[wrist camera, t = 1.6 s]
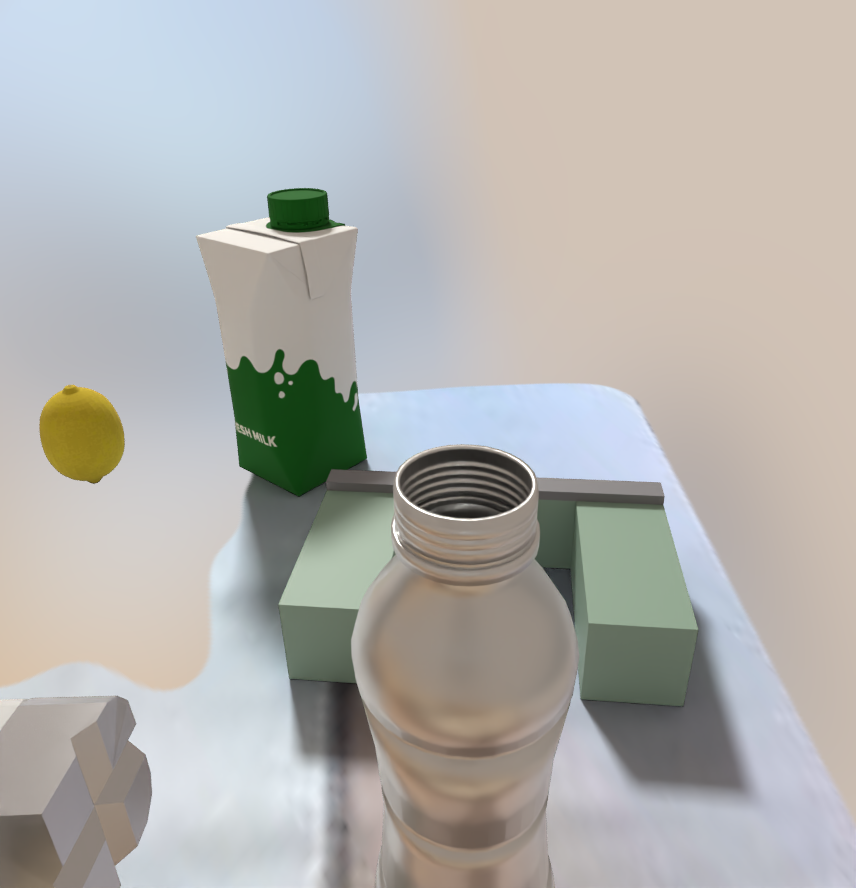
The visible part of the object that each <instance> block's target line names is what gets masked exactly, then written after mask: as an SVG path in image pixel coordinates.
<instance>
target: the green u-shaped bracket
mask: <svg viewBox="0 0 856 888" xmlns="http://www.w3.org/2000/svg"><path fill="white" fill-rule="evenodd" d="M395 475H396V472H385V471H360V470H335V469H331V471H330V474H329V476H328V478H327V481H326V488H327V491H326V493H325V496H324V498H323V500H322V503H321V505H320V507H319V510H318V512H317V515H316V517H315V519H314V522H313V524H312V526H311V529H310V531H309V533H308V536H307V538H306V540H305V543H304V545H303V548H302V550H301V552H300V555H299V557H298V559H297V562H296V564H295V566H294V569H293V571H292V573H291V576H290V578H289V581H288V583H287V585H286V588H285V590H284V592H283V595H282V597H281V599H280V602H279V604H278V606H279V612H280V619H281V626H282V633H283V639H284V646H285V653H286V660H287V666H288V673H289V679H301V680H316V681H330V682H344V683H357V682H356V678H355V672H354V666H353V661H352V654H351V638H352V634H353V630H354V626H355V622H356V618H357V615H358V611H359V607H360V604H361V601H362V599H363V597H364V595H365V593H366V591H367V589H368V588H369V586H370V585H371V584H372V582H373V581H374V580H375V578H376V577H377V576H378V574H379V573H380V572H381V570H382V569H383V568H384V567H385V565H386V564H387V563H388V562H389V561H390V560H391V559H392V558H393V557H394V556H395V555H396V554H395V552H394V549H393V547H392V539H391V523H392V518H393V516H394V496H393V485H394V479H395ZM537 484H538V491H539V498H538V511H537V520H538V522H539V526H540V540H539V549H538V552H537V556H536V557H535V560H536V561H537V562H538V563H539V565H540V566H541V567H546V568H565V569H570V572H571V584H572V597H573V610H574V622H575V632H576V635H577V639H578V647H579V655H580V656H579V663H578V672H579V685H580V697H581V699H584V700H599V701H613V702H627V703H641V704H655V705H669V706H683V705H684V700H685V695H686V690H687V685H688V680H689V675H690V670H691V665H692V660H693V655H694V650H695V645H696V639H697V634H698V627H697V623H696V619H695V616H694V612H693V609H692V605H691V602H690V598H689V595H688V591H687V588H686V584H685V580H684V577H683V573H682V570H681V566H680V563H679V559H678V556H677V552H676V549H675V545H674V541H673V538H672V534H671V531H670V527H669V524H668V520H667V517H666V513H665V509H664V506H663V503H664V493H663V489H662V486H661V483H659V482H634V481H609V480H584V479H559V478H537Z"/></svg>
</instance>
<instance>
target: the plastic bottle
mask: <svg viewBox="0 0 856 888" xmlns="http://www.w3.org/2000/svg"><path fill="white" fill-rule="evenodd" d="M393 496H394V516H393V518H392V523H391V539H392V547H393V549H394V552H395V554H396V555H395V556H394V557H393V558H392V559H391V560H390V561H389V562H388V563H387V564H386V565H385V567H384V568H383V569H382V570H381V572H380V573H379V574H378V576H377V577H376V578H375V580H374V581H373V582H372V584H371V585H370V586H369V588H368V589H367V591H366V593H365V595H364V597H363V599H362V601H361V604H360V607H359V611H358V615H357V618H356V622H355V626H354V630H353V634H352V638H351V654H352V661H353V666H354V672H355V678H356V682H357V685H358V688H359V692H360V695H361V698H362V702H363V705H364V709H365V712H366V716H367V719H368V723H369V726H370V730H371V733H372V737H373V740H374V744H375V748H376V755H377V761H378V768H379V775H380V780H381V784H382V794H383V801H384V807H383V832H382V846H381V850H380V854H379V858H378V864H377V871H376V879H375V888H555V883H554V875H553V871H552V867H551V863H550V859H549V855H548V843H547V822H546V807H547V800H548V794H549V786H550V780H551V774H552V767H553V760H554V757H555V753H556V750H557V746H558V743H559V740H560V736H561V733H562V729H563V726H564V723H565V719H566V716H567V712H568V709H569V706H570V701H571V698H572V696H573V691H574V685H575V680H576V675H577V669H578V663H579V656H580V655H579V647H578V639H577V635H576V632H575V628H574V624H573V621H572V617H571V614H570V611H569V609H568V606H567V604H566V601H565V600H564V598H563V597H562V595H561V594H560V592H559V591H558V589H557V588H556V587H555V585H554V584H553V582H552V581H551V579H550V578H549V576H548V575H547V574H546V572H545V571H544V569H543V568H542V567H541V566H540V565H539V563H538V562H537V561H536V560H535V557H536V556H537V552H538V549H539V540H540V526H539V522H538V520H537V511H538V498H539V491H538V484H537V478H536V476H535V473H534V472H533V470H532V469H531V468H530V467H529V466H528V465H527V464H526V463H525V462H523V461H522V460H521V459H519V458H517V457H516V456H514V455H512V454H510V453H507V452H504V451H502V450H499V449H495V448H491V447H486V446H479V445H463V444H461V445H447V446H441V447H436V448H432V449H428V450H425V451H423V452H420V453H418V454H416V455H414V456H412V457H411V458H409V459H408V460H406V461H405V462H404V463H403V464H402V465H401V466H400V467H399V469H398V471H397V472H396V475H395V479H394V485H393Z"/></svg>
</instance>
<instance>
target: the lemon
mask: <svg viewBox="0 0 856 888" xmlns="http://www.w3.org/2000/svg"><path fill="white" fill-rule="evenodd" d="M40 438H41V442H42V447H43V450H44V452H45V455H46V457H47V459H48V460H49V462H50V463H51V464H52V465H53V467H54V468H55V469H56V470H57V471H58V472H60V473H61V474H62V475H64V476H66V477H69V478H71V479H74V480H80V481H88V482H90V483H93V484H94V483H98V482H99V481H100V480H101V479H102V477H103V476H105V475H107V474H109V473H110V472H111V471H112V470H113V469H114V468H115V467H116V466H117V465H118V463H119V462H120V460H121V457H122V455H123V452H124V445H125V444H124V431H123V426H122V423H121V420H120V418H119V416H118V414H117V412H116V410H115V409H114V407H113V405H112V404H111V403H110V402H109V401H108V399H107V398H105V397H104V396H103V395H102V394H100V393H98V392H96V391H94V390H91V389H88V388H82V387H76V386H75V385H68V386H65V388H64V389H63V390H62V391H60V392H58V393H57V394H55V395H54V396H53V397H51V398H50V400H49V401H48V402H47V403H46V405H45V406H44V408H43V410H42V413H41V416H40Z"/></svg>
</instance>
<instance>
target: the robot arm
mask: <svg viewBox="0 0 856 888" xmlns="http://www.w3.org/2000/svg"><path fill="white" fill-rule="evenodd" d="M135 725H136V722H135V719H134V716H133V713H132V711H131V708H130V705H129V702H128V700H126V699H123V698H121V697H119V696H92V697H53V698H31V699H8V700H0V888H120V886H121V883H120V880H119V877H118V874H117V871H116V868H115V865H117V864H118V863H119V862H120V861H121V860H122V859H123V858H125V857H126V856H127V855H128V854H129V853H130V852H131V851H133V850H134V849H135V848H136V847H137V846H138V844H139V841H140V839H141V836H142V834H143V831H144V829H145V826H146V824H147V820H148V814H149V808H150V802H151V796H152V787H151V772H150V769H149V765H148V762H147V758H146V755H145V754H144V753H143V752H141V751H140V750H139V749H138V748H137V747H135V746H134V745H133V744H132V743H131V742H129V741H128V739H129V737H130V735H131V733H132V731H133V729H134V727H135Z"/></svg>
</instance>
